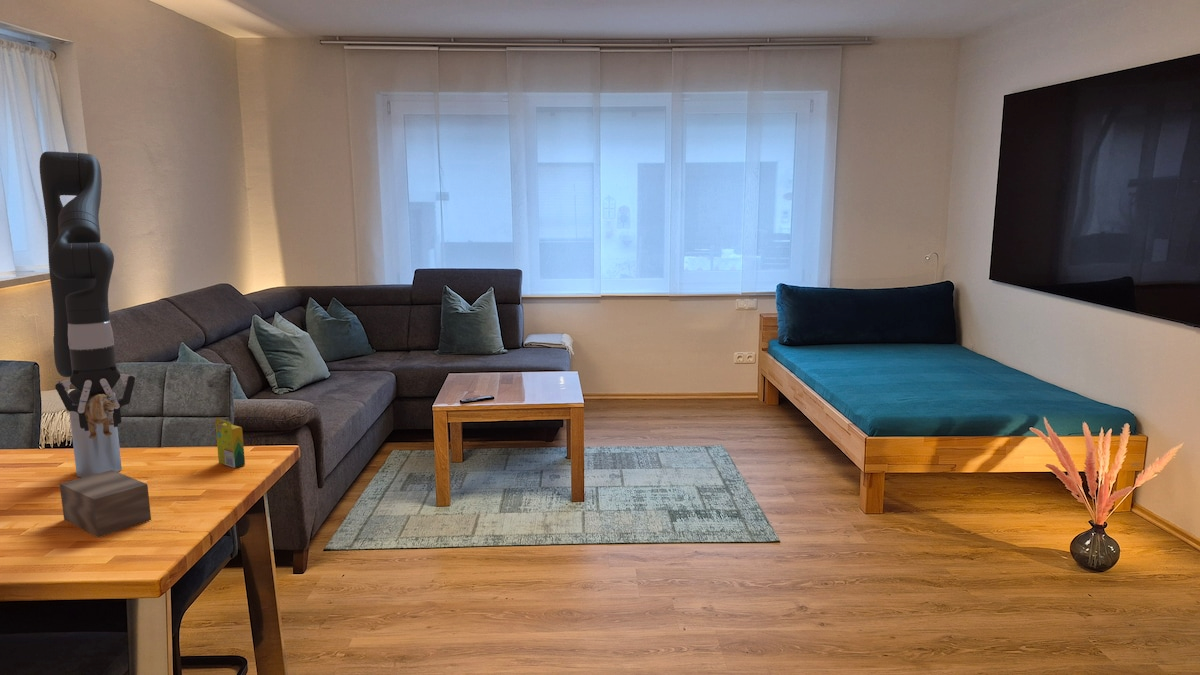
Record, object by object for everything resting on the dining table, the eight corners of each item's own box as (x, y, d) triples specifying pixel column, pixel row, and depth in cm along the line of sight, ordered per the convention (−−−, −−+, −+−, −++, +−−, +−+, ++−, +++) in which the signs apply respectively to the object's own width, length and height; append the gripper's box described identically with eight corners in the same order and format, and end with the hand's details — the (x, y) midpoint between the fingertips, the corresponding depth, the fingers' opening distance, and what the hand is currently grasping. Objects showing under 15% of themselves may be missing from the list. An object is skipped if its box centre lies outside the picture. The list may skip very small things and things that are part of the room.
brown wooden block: (64, 520, 163) (59, 483, 161) (115, 505, 171) (111, 469, 169) (98, 538, 154) (93, 499, 153) (151, 521, 162) (147, 484, 161)
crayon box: (245, 465, 195) (242, 419, 193) (234, 468, 193) (230, 422, 191) (229, 459, 200) (225, 415, 198) (218, 462, 197) (214, 417, 195)
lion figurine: (121, 438, 157) (115, 394, 155) (89, 443, 154) (83, 398, 152) (114, 422, 169) (109, 380, 167) (84, 426, 166) (79, 384, 164)
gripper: (132, 338, 164) (141, 418, 167) (49, 345, 156) (59, 429, 159) (134, 343, 157) (142, 427, 160) (46, 351, 150) (57, 438, 153)
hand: (101, 427), depth 160 cm, fingers closed on lion figurine, 4 cm apart
